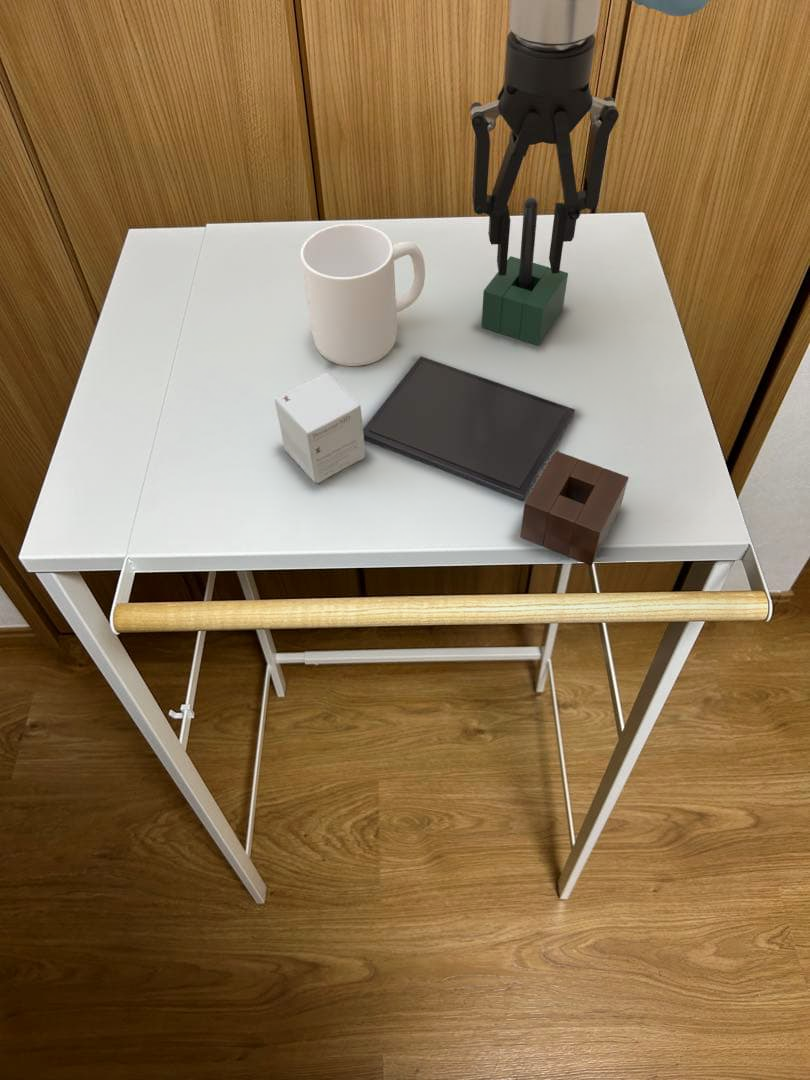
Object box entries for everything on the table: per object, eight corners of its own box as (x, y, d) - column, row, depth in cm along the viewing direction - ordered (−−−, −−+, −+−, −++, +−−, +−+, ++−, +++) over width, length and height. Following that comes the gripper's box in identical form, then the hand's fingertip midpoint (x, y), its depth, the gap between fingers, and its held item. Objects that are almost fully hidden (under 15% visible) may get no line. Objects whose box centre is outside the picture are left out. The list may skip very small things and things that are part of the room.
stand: (562, 309, 96) (568, 272, 91) (538, 346, 92) (543, 309, 88) (507, 292, 98) (510, 255, 94) (481, 327, 94) (483, 290, 90)
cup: (300, 330, 95) (285, 240, 85) (405, 291, 98) (402, 201, 89) (336, 379, 90) (324, 290, 80) (445, 336, 93) (446, 246, 84)
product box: (315, 486, 81) (306, 434, 75) (283, 449, 84) (271, 396, 78) (367, 457, 83) (362, 404, 77) (334, 423, 86) (326, 369, 80)
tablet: (574, 414, 86) (575, 408, 85) (522, 501, 79) (523, 495, 78) (420, 360, 91) (420, 355, 90) (360, 437, 85) (359, 432, 84)
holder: (619, 511, 78) (629, 476, 74) (591, 566, 74) (600, 532, 70) (549, 485, 80) (555, 450, 76) (519, 537, 76) (524, 502, 72)
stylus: (530, 316, 95) (540, 196, 85) (525, 322, 94) (535, 202, 84) (518, 313, 95) (527, 194, 85) (513, 319, 95) (522, 199, 84)
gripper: (649, 8, 73) (605, 242, 91) (443, 16, 73) (442, 249, 92) (667, 47, 68) (617, 285, 87) (448, 56, 68) (445, 291, 87)
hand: (527, 266), depth 89 cm, fingers open, 5 cm apart
